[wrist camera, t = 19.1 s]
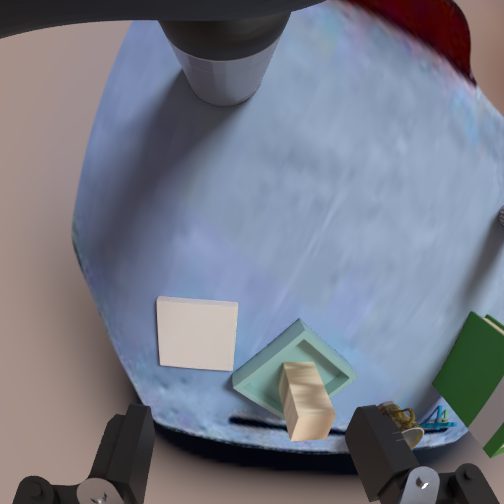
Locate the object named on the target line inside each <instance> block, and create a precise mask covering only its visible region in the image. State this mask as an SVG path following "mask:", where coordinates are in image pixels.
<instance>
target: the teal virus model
mask: <svg viewBox="0 0 504 504" xmlns="http://www.w3.org/2000/svg"><path fill="white" fill-rule="evenodd" d="M441 411H442V406H438V412H437V418H435V423H428V424H426V423H422V424H419V425H420V426H421V428H435V430H437V429H439V428H447V427H453V426H457V423H456V422H453V423H451V422H448V419H446V417H447V410H445V412H444V418H441ZM441 421H442V422H441ZM446 422H447V423H446Z"/></svg>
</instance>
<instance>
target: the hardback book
mask: <svg viewBox="0 0 504 504" xmlns="http://www.w3.org/2000/svg"><path fill="white" fill-rule="evenodd" d="M433 385H434V387H435V388H436V389H437V390H438V392H439V393H440V394H441V395H442V397H443V398H444V399H445V400H446V402H447V403H448V404H449V405H450V407H451V408H452V409H453V410H454V412H455V413H456V414H457V415H458V417H459V418H460V419H461V421H462V422H463V423H464V424H465V426H466V427H467V428H468V430H469V431H470V432H471V434H472V435H473V436H474V437H475V439H476V440H477V441H478V443H479V444H480V445H481V447H482V448H483V450H484V451H485V452H486V454H487V455H488V456H489V458H492V457H494V456H496V455H498V454H500V453H502V452H504V325H502V324H501V323H500V322H498V321H497V320H496V319H494V318H493V317H491V316H490V315H488V314H487V315H486V317H485V318H481V317H480V316H479V315H477V314H476V313H475V312H472V311H471V312H470V314H469V317H468V319H467V321H466V323H465V325H464V327H463V329H462V331H461V333H460V335H459V337H458V339H457V341H456V343H455V345H454V347H453V349H452V351H451V353H450V354H449V356H448V358H447V360H446V362H445V363H444V365H443V367H442V369H441V370H440V372H439V374H438V375H437V377H436V379H435V380H434V382H433Z"/></svg>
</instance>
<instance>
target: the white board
mask: <svg viewBox="0 0 504 504" xmlns="http://www.w3.org/2000/svg"><path fill="white" fill-rule="evenodd" d="M237 315H238V302H231V301H216V300H202V299H189V298H177V297H166V296H159V297H158V299H157V322H158V341H159V356H160V365H165V366H174V367H185V368H197V369H210V370H227V371H233V360H234V349H235V337H236V326H237Z"/></svg>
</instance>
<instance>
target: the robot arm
mask: <svg viewBox="0 0 504 504" xmlns="http://www.w3.org/2000/svg"><path fill="white" fill-rule="evenodd" d="M324 1H326V0H0V39H1V38H5V37H8V36H12V35H16V34H20V33H24V32H29V31H33V30H38V29H43V28H49V27H55V26H62V25H69V24H78V23H87V22H100V21H119V20H120V21H121V20H158V22H159V23H160V25H161V27H162V29H163V31H164V33H165V35H166V37H167V39H168V41H169V43H170V45H171V46H172V48H173V50H174V52H175V55H176V57H177V59H178V61H179V63H180V65H181V67H182V69H183V71H184V73H185V75H186V77H187V80H188V82H189V84H190V86H191V88H192V89H193V91H194V92H195V94H196V95H197V96H198V97H199V98H200V99H202V100H204V101H205V102H207V103H210V104H212V105H217V106H232V105H236V104H239V103H241V102H244V101H246V100H247V99H248V98H250V97H251V96H252V95H253V94H254V93H255V92H256V91H257V89H258V87H259V86H260V84H261V82H262V80H263V76H264V74H265V72H266V69H267V67H268V65H269V62H270V60H271V58H272V55H273V53H274V51H275V48H276V46H277V44H278V42H279V39H280V37H281V35H282V33H283V30H284V28H285V26H286V24H287V22H288V20H289V17H290V14H291V12H292V11H296V10H300V9H303V8H307V7H309V6H312V5H315V4H318V3H321V2H324ZM154 439H155V432H154V425H153V420H152V414H151V408H150V406H145V405H139V404H132V403H131V404H130V405H129V407H128V410H127V413H126V416H125V415H119V414H116V415H115V416H114V417H113V418H112V419H111V420H110V421H109V422H108V423H107V426H106V429H105V432H104V435H103V437H102V440H101V444H100V445H99V448H98V451H97V454H96V457H95V460H94V463H93V466H92V469H91V472H90V474H89V476H88V478H87V479H86V480H85V481H83V482H82V483H80V484H77V485H73V486H66V485H51V484H50V483H49V482H48V481H47V480H45V479H44V478H42V477H39V476H28V477H26V478H24V479H23V480H22V481H21V482H20V484H19V486H18V489H17V492H16V495H15V498H14V500H13V503H12V504H143V503H144V496H145V490H146V485H147V479H148V473H149V468H150V463H151V457H152V452H153V447H154ZM345 439H346V444H347V446H348V449H349V451H350V454H351V456H352V459H353V461H354V464H355V466H356V468H357V471H358V474H359V476H360V479H361V482H362V484H363V486H364V489H365V492H366V494H367V497H368V499H369V502H373V501H376V500H380V502H381V504H500V503H499V502H498V500H497V498H496V496H495V494H494V493H493V491H492V489H491V487H490V486H489V484H488V482H487V481H486V479H485V477H484V475H483V474H482V472H481V470H480V469H479V468H478V467H477V466H476V465H473V464H470V463H467V464H463V465H461V466H459V467H458V469H457V470H456V471H455V472H452V473H440V474H438V473H436V472H435V471H434V470H433V469H431V468H428V467H421V466H420V464H419V463H418V461H417V459H416V457H415V456H414V454H413V452H412V450H411V449H410V447H409V445H408V444H407V442H406V440H404V437H403V435H402V433H400V430H399V428H398V426H397V425H396V423H395V422H394V421H393V420H392V419H391V418H389V417H388V416H387V415H382V414H381V412H380V410H379V409H378V407H377V406H376V405H370V406H363V407H357V408H356V410H355V412H354V414H353V417H352V419H351V421H350V423H349V426H348V428H347V430H346V434H345Z"/></svg>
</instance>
